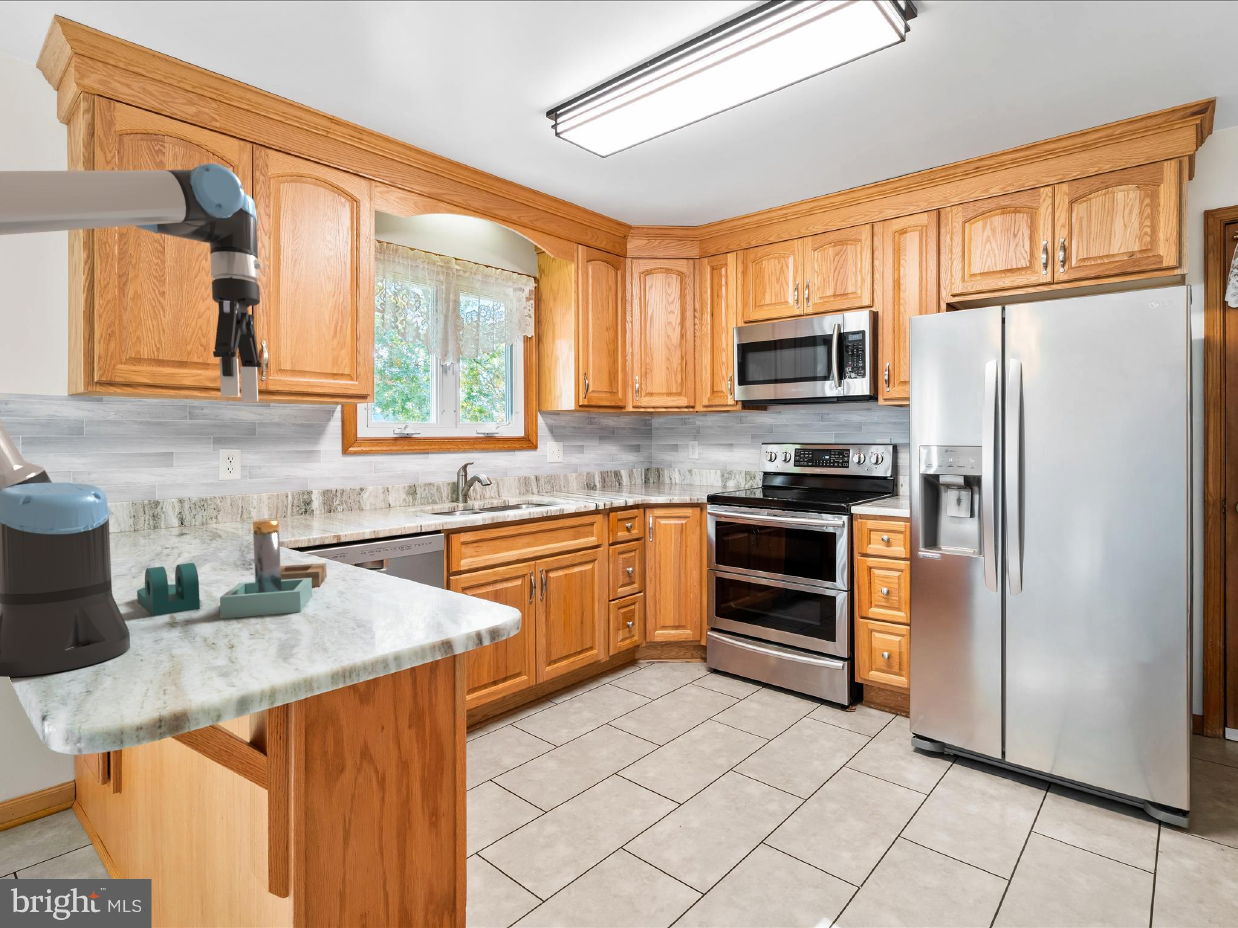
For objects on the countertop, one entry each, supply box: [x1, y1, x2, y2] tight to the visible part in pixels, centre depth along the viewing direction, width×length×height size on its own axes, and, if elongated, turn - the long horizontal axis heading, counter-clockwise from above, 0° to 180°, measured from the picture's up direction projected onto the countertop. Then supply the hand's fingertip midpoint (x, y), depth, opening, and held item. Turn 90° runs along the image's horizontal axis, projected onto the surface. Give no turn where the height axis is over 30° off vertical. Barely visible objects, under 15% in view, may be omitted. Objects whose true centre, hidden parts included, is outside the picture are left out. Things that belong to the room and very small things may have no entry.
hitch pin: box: [252, 519, 282, 593], centre depth 118 cm, size 4×4×14 cm
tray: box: [219, 578, 313, 619], centre depth 118 cm, size 12×12×4 cm
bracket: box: [136, 562, 201, 617], centre depth 122 cm, size 18×7×8 cm, turn 44°
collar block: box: [280, 562, 328, 588], centre depth 137 cm, size 10×10×3 cm
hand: (240, 399), depth 123 cm, fingers open, 13 cm apart
